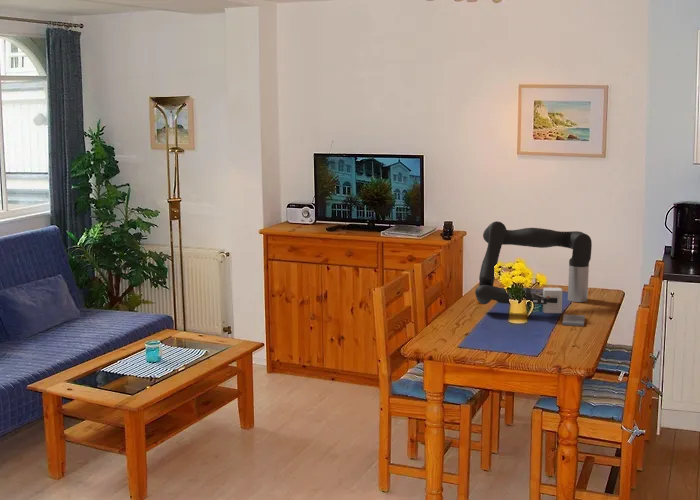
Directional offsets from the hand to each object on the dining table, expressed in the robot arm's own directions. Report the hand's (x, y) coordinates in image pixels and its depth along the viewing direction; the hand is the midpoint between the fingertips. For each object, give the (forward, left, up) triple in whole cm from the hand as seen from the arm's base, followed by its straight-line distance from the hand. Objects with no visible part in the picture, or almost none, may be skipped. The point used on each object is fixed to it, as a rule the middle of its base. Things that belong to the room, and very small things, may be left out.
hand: (557, 298), depth 385 cm
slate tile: (+5, +7, -9) cm, 12 cm away
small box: (0, -2, -6) cm, 7 cm away
